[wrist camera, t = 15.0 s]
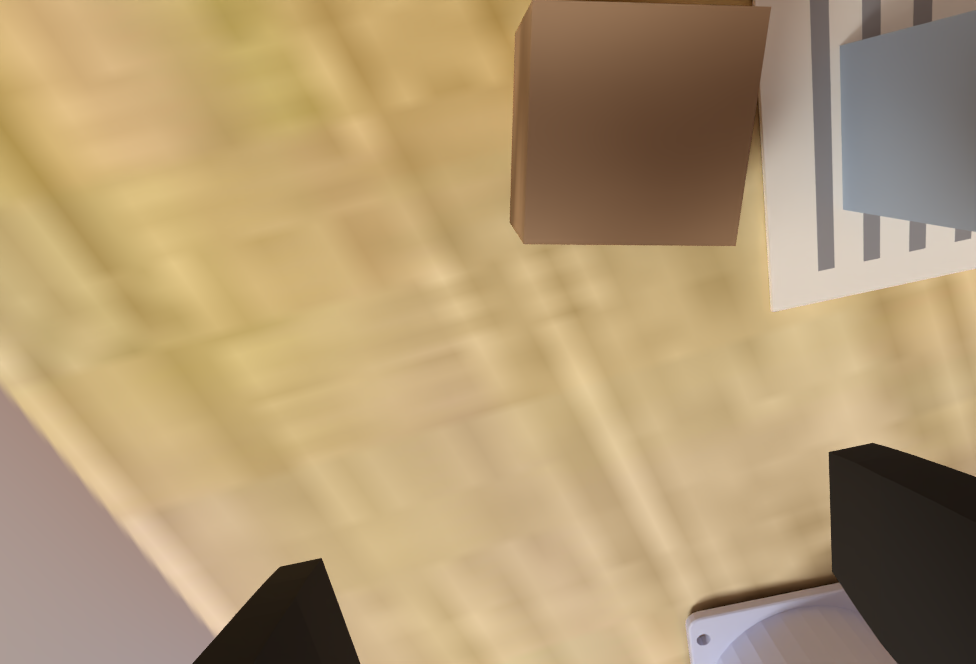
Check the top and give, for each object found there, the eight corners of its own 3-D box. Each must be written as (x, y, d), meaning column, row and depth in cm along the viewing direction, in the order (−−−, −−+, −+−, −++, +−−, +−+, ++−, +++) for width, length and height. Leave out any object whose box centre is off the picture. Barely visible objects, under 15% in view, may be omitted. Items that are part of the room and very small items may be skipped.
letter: (1056, 249, 18) (1061, 250, 18) (770, 310, 18) (773, 312, 18) (1103, -223, 14) (1110, -227, 14) (744, -140, 14) (747, -144, 14)
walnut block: (675, 223, 17) (735, 246, 14) (509, 222, 17) (523, 243, 13) (696, 39, 16) (771, 6, 12) (514, 34, 16) (533, -1, 12)
